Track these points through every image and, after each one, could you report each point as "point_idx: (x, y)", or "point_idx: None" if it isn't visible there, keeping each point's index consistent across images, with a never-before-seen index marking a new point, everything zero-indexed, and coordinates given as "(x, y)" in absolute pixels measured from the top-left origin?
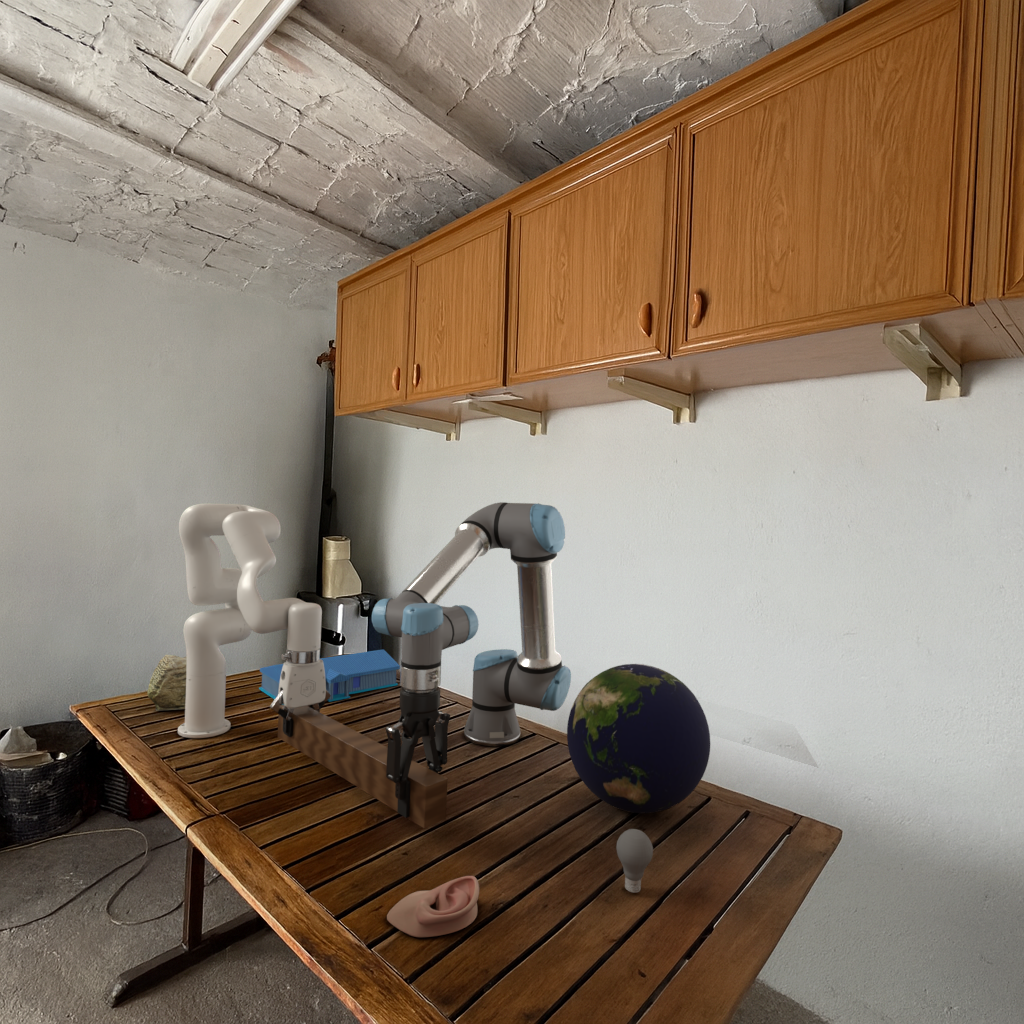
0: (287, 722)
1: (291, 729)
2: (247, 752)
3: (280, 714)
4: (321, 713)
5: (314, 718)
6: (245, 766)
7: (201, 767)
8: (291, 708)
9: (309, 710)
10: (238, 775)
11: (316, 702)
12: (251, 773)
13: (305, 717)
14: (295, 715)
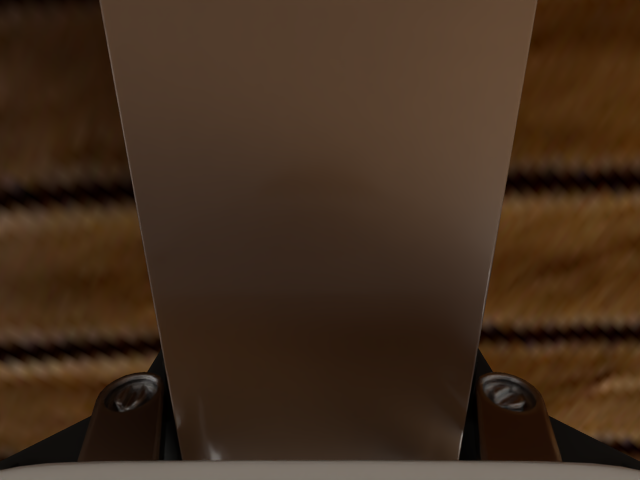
0: (480, 372)
1: None
2: None
3: (637, 460)
4: (143, 216)
5: (352, 65)
6: (499, 342)
7: (608, 421)
8: (625, 467)
9: (240, 414)
10: (571, 284)
11: (108, 466)
12: (524, 269)
13: (435, 211)
14: (470, 372)
